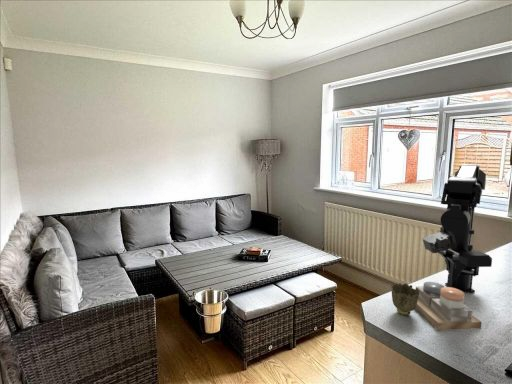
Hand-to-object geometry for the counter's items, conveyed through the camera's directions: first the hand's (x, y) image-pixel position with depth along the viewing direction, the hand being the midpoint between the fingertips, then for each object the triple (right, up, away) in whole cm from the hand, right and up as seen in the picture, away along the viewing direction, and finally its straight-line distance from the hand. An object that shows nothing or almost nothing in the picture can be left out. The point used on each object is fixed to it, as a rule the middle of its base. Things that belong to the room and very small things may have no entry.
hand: (452, 279), depth 85 cm
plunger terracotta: (0, -8, +1) cm, 8 cm away
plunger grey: (0, -9, +9) cm, 13 cm away
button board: (0, -12, +6) cm, 13 cm away
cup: (-11, -12, +6) cm, 17 cm away
